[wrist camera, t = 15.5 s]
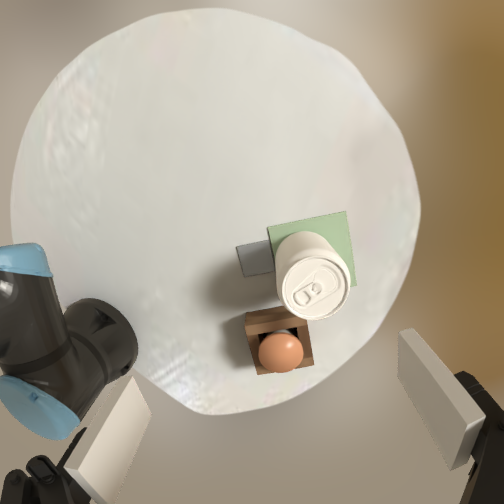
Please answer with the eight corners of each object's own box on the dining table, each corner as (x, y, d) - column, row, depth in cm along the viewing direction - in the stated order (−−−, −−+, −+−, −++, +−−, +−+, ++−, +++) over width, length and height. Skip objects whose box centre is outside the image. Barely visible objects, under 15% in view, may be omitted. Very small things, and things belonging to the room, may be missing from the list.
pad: (283, 300, 45) (283, 301, 45) (267, 227, 43) (267, 227, 42) (356, 285, 44) (356, 285, 44) (345, 211, 42) (345, 211, 41)
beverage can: (343, 262, 43) (367, 293, 31) (298, 297, 45) (307, 337, 33) (309, 218, 42) (324, 234, 30) (263, 254, 43) (260, 284, 32)
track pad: (244, 276, 45) (244, 277, 44) (237, 246, 44) (236, 246, 43) (275, 270, 44) (275, 270, 44) (268, 239, 43) (268, 240, 43)
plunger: (264, 353, 47) (263, 375, 41) (256, 320, 45) (254, 340, 40) (302, 346, 46) (306, 368, 40) (296, 312, 45) (299, 331, 39)
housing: (258, 358, 48) (257, 375, 43) (246, 312, 46) (244, 326, 42) (310, 349, 47) (314, 365, 43) (302, 301, 45) (305, 315, 41)
